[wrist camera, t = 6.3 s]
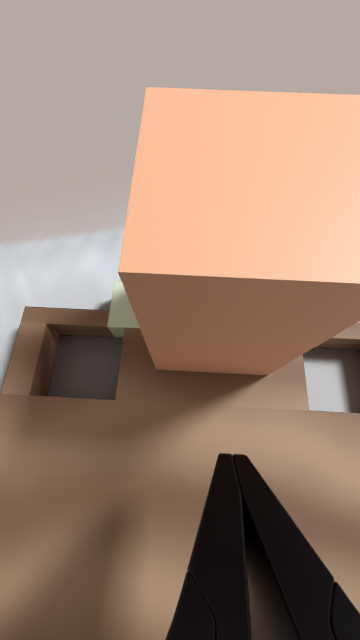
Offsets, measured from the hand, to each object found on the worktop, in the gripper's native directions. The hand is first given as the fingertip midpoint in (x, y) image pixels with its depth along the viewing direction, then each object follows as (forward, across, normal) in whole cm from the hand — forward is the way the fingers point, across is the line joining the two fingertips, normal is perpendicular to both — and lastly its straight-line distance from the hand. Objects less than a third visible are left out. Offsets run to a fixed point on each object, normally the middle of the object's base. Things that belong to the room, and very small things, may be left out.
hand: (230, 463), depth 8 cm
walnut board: (+5, 0, +5) cm, 7 cm away
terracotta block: (+9, 0, -1) cm, 9 cm away
